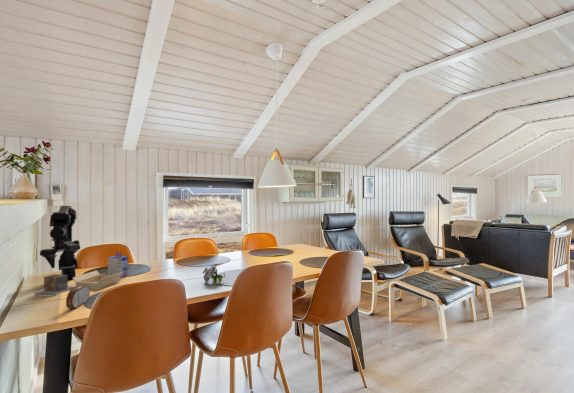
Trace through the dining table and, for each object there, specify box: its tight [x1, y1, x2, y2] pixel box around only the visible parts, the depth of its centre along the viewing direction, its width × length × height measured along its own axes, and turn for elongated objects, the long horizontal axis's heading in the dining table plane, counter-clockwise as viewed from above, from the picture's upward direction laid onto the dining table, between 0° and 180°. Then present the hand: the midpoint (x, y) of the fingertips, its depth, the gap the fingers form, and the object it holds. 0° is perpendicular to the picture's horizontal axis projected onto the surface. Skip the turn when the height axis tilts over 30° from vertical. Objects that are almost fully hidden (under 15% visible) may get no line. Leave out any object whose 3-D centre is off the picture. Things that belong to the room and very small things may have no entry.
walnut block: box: [43, 273, 69, 291], centre depth 165 cm, size 9×5×7 cm, turn 78°
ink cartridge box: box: [107, 252, 129, 279], centre depth 191 cm, size 10×6×14 cm, turn 78°
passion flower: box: [202, 264, 226, 286], centre depth 177 cm, size 11×11×12 cm
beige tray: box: [72, 270, 123, 290], centre depth 176 cm, size 18×16×6 cm
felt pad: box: [34, 285, 76, 297], centre depth 165 cm, size 12×12×1 cm
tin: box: [65, 284, 91, 309], centre depth 144 cm, size 15×3×8 cm, turn 5°
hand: (61, 266), depth 168 cm, fingers open, 9 cm apart
